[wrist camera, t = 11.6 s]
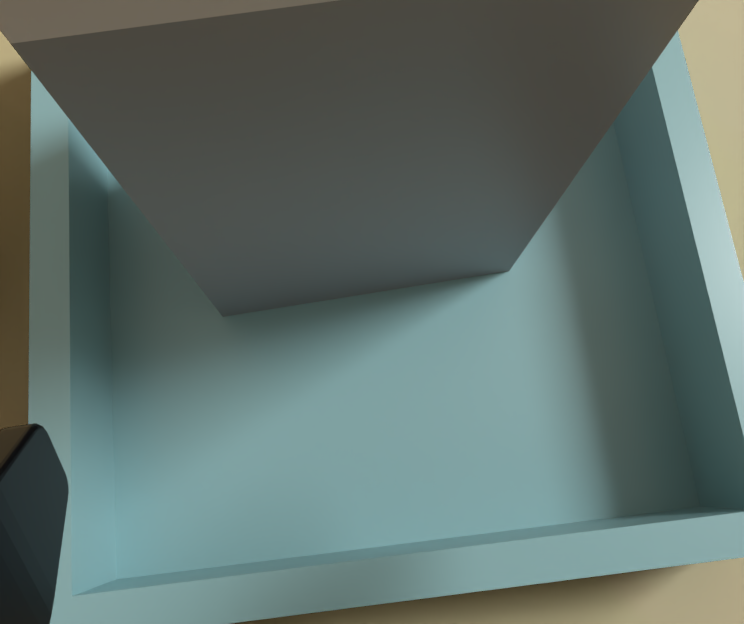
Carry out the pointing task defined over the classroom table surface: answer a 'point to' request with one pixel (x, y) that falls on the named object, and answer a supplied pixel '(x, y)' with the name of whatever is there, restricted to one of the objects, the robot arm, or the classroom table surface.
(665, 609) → the classroom table surface
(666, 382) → the tray
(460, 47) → the caddy
